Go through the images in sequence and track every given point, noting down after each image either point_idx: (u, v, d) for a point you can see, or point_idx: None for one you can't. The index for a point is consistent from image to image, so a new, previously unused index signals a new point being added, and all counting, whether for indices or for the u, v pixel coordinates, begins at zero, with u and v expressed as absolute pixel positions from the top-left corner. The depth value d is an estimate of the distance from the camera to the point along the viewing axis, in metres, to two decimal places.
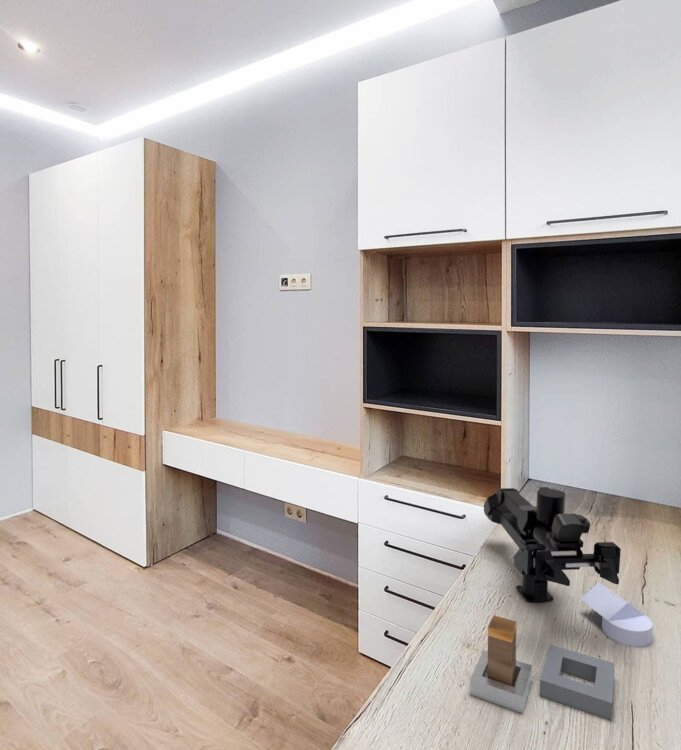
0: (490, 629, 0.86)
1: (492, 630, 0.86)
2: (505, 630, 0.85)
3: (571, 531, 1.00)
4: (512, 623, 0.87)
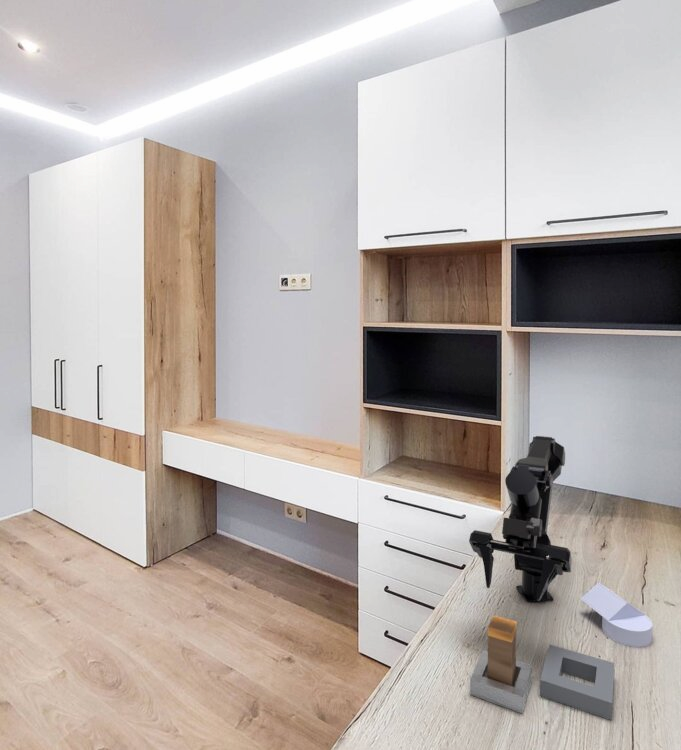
0: (490, 629, 0.86)
1: (492, 630, 0.86)
2: (505, 630, 0.85)
3: None
4: (512, 623, 0.87)
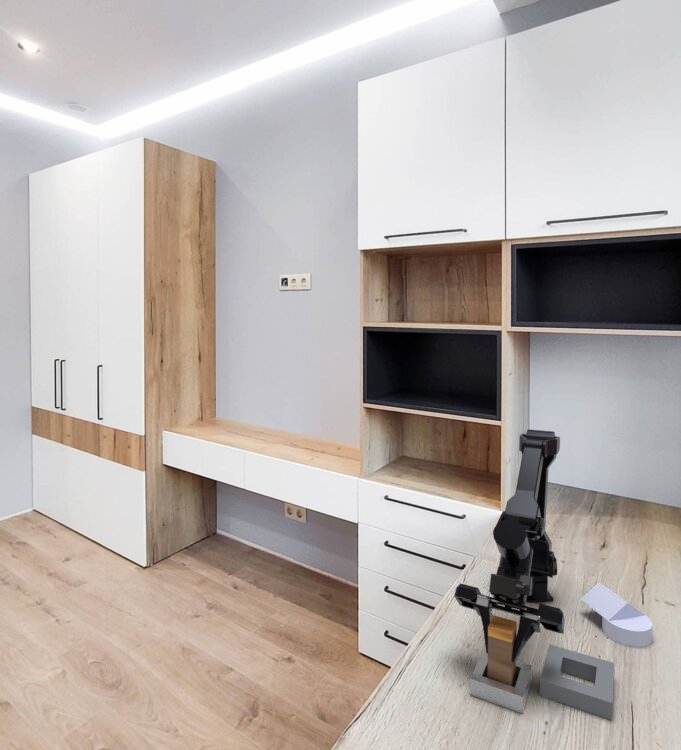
0: (490, 629, 0.86)
1: (492, 630, 0.86)
2: (505, 630, 0.85)
3: None
4: (512, 623, 0.87)
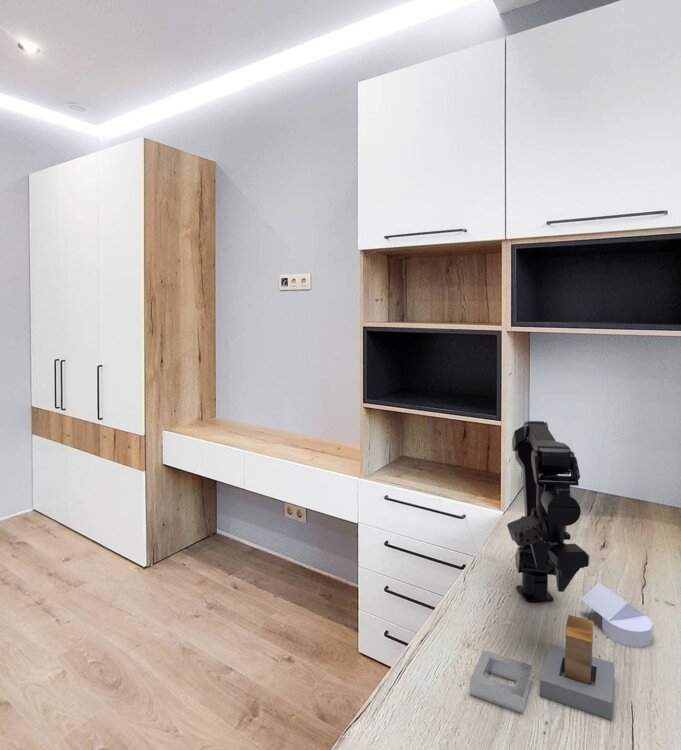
0: (568, 628, 0.86)
1: (570, 629, 0.86)
2: (584, 630, 0.85)
3: None
4: (589, 622, 0.87)
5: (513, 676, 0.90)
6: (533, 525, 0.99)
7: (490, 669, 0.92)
